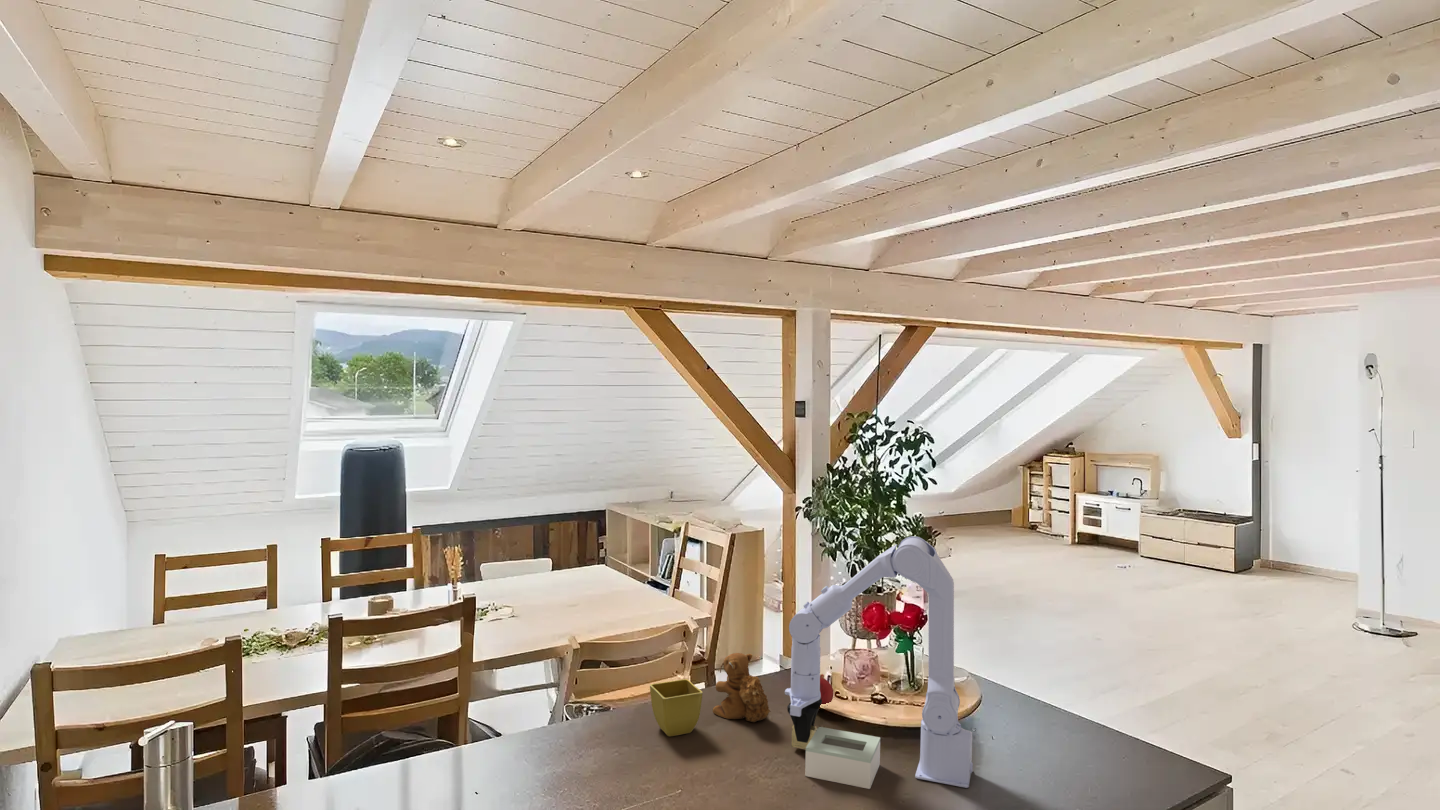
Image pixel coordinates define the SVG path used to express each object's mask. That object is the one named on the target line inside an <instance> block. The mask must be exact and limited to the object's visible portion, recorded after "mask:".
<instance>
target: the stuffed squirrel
mask: <svg viewBox="0 0 1440 810" xmlns="http://www.w3.org/2000/svg"><path fill="white" fill-rule="evenodd" d="M752 659H753V654H752V653H747V654H744V653H741V652H733V653H731V654H729V655H727V656H726V657H725V658H724V659H723V662H722V663H721V665H720V666H719V669H718V672H719V673H722V667H723V671H724V672H725V673H726V680H725V681H723V680H719V681H717V682H716V683H715V690H716V691H717V692H718V693H726V694H727V695H726V696H725V698H724V699H723V700H722V701H721V702H720V705H719V704H718V705H715V706H714V707H713V708H712V713H713V714H714V715H716V716H717V717H718V716H719V717H720V718H724V719H727V720H739V719H740V720H741V719H745V721H747V722H751V723H756V722H757V721H758V722H759V721H762V720H764V719H766V718H768V715H769V713H771V712H772V711H771V710H770V707H769V703H768V702H769V700H768V698H767V695H766V694H765V689H764V688H763V685H762V683H761V679H760V678H759V677H758V676H756V675H755V676H753V675H751V674H750V669H749V663H750V662H751V660H752Z"/></svg>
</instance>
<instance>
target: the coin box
mask: <svg viewBox="0 0 1440 810" xmlns="http://www.w3.org/2000/svg"><path fill="white" fill-rule="evenodd" d="M880 759H881V737H880V736H874V735H869V734H862V733H857V732H851V731H846V730H840V729H835V728H834V729H833V728H829V727H825V726H824V727H823V726H818V728H817V731H816V732H815V734H814V735H813V737H812V739H811V740H810V742H809V743H808V745H807V747H806V749H805V759H804V760H805V764H804V765H805V766H804V768H805V770H804V772H805V773H804V776H805V777H808V778H812V779H813V778H814V779H818V780H822V781H829V782H833V783H838V784H844V785H849V786H853V787H857V788H864V789H868V790H870V789H871V787H872V785H873V783H874V780H875V777H876V774H877V773H878V770H879V768H880V766H881V765H880V764H881V760H880Z"/></svg>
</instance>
